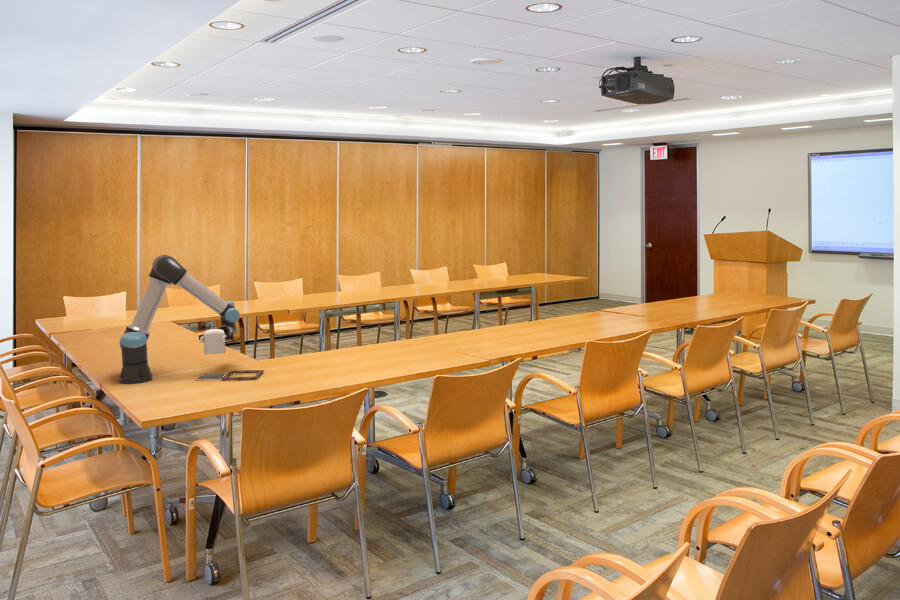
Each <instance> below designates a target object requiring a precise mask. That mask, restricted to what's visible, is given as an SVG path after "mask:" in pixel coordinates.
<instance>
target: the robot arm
mask: <svg viewBox="0 0 900 600" xmlns="http://www.w3.org/2000/svg"><path fill="white" fill-rule="evenodd" d="M151 266H152V267H151V269H150V272H149V273H148V279H149V282H148V285H147V286H146V289H145V291H144V294H143V296H142V299H141V300H140V303H139V305H138V308H137V310H136V312H135V315H134V317H133V319H132V321H131V323H130V324H128V325H126V328H125V330H124V333H123V334H121V336H120V339H119V347H120V349H121V351H120V352H121V363H122V364H121V365H122V367H121V370H120V374H119V379H118V380H119V383H121V384H140V383H139V382H141V383H145V382H144V381H146V382H149V381H148V380H150V381H151V379H152V378H153V373H152V370H151V368H150V366H149V361H148V360H149V359H148V346H147V345H148V344H147V342H148V339H149V337H150V336H151V333H150V331H149V329H150V327H151V325H152V322H153V320H154V317H155V315H156V312H157V310H158V307H159V305H160V303H161V302H162V301H161V300H162V299H163V296H164V294H165V292H166V289H167V287H169V286H171V285H174V286H179V287H180V288H181V289H183V290H184V291H186V292H187V293H189V294H190V295H191V296H193V297H194V298H196V299H197V300H198V301H200V302H201V303H202V304H203V305H205V306H206V307H208V308H209V309H211V310H212V311H213V312H215V313H216V314H218V315H219V316H220V326H219V327H218V328H216V329H221V330H223V331H224V333H225V336H223V337H222V343H224V342H225V343H226V342H227V341H234V338H235V335H236V333H237V332H238V326H237V324H236V323H237V322H238V321H239V320H240V318H241V312H240V311H239V309H237V308H236V306H235V302H234V301H232V300H227V301H226V300H225V299H224V298H222V297H221V296H219V295H218V294H216V293H215V292H214V291H212V290H211V289H210V288H209V287H207V286H206V285H204V284H203V283H201V282H200V281H199V280H198V279H197V278H195V277H193V275H191V274H190V273H189V272H188V270H187V268H185V267H184V266H183V265H181V264H180V262H179V261H178V260H177V259H176V258H174V257H173V256H171V255H168V254H163V255H162V254H160V255H159V256H157V257H156V258H155V259H154V260H153V262H152V265H151ZM203 336H204V333H202V334H199V335H198V341H200V342H199V343H200V344H204V337H203ZM152 380H153V379H152Z"/></svg>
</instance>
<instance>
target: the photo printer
mask: <svg viewBox="0 0 900 600" xmlns="http://www.w3.org/2000/svg"><path fill="white" fill-rule="evenodd" d="M203 334H204V336H203V337H204V342H203V348H204V349H203V352H204V353H203V354H204V355H207V356H208V355H216V354H225V353H227V351H226V341H225V342H224V343H222V337H223V336H225V333H224V331H223V330H221V329H217V328H211V329H207V330H205V331H204V332H203Z"/></svg>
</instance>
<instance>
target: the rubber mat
mask: <svg viewBox="0 0 900 600" xmlns="http://www.w3.org/2000/svg"><path fill="white" fill-rule="evenodd" d="M203 374H205V375H203ZM225 374H226V373H202V374H201V375H203V376H201V375H199V376H198V377H197V378H195V380H196V381H198V380H197V379H221V378H222V377H223V376H224V375H225ZM221 380H222V379H221Z"/></svg>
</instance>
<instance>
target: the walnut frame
mask: <svg viewBox="0 0 900 600" xmlns="http://www.w3.org/2000/svg"><path fill="white" fill-rule="evenodd" d="M263 372H264V373H265V370H264V369H246V370H243V369H242V370H229V371H228V372H226V373H225V374H226V375H225V376H224V377H222V379H221V381H222V380H238V381H258V380H257V379H260V377H261V376H262V375H263V374H264V373H263ZM233 373H257V374H255V375H254V376H232V375H234V374H233ZM231 374H232V375H231ZM230 375H231V376H230ZM229 376H230V377H229Z"/></svg>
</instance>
